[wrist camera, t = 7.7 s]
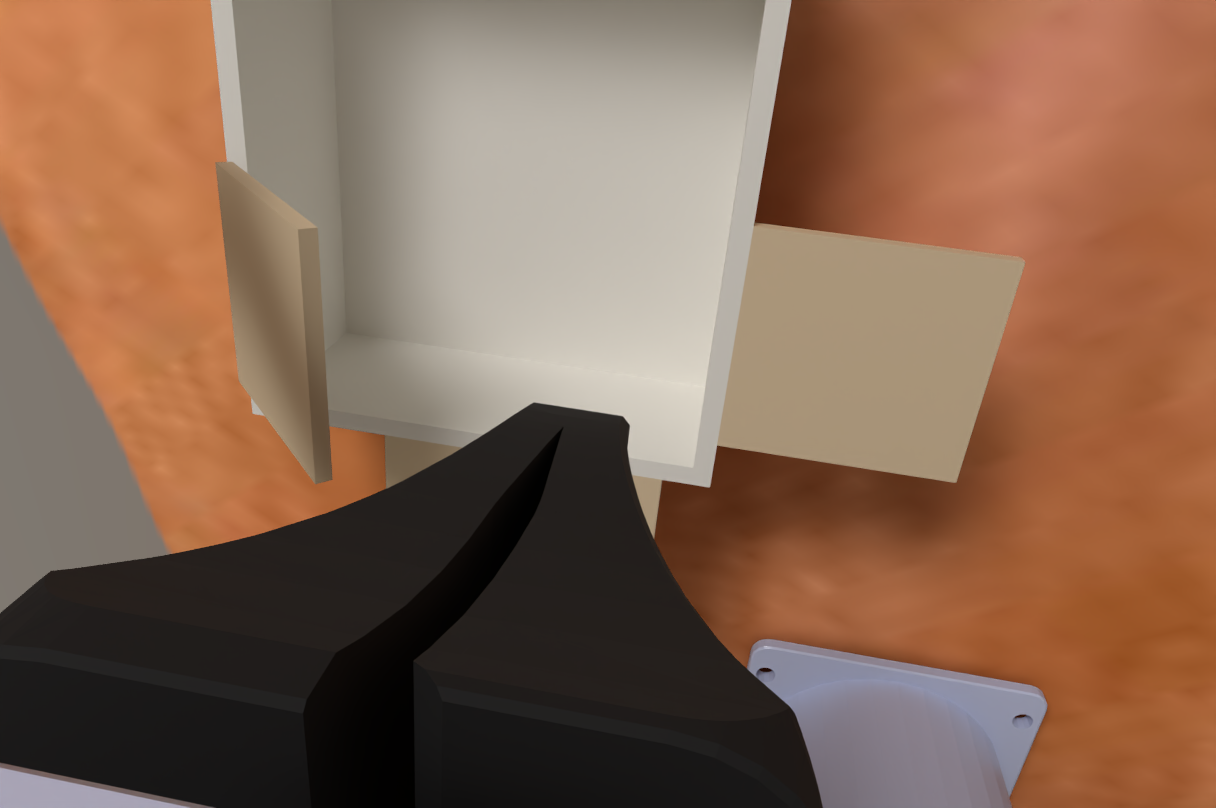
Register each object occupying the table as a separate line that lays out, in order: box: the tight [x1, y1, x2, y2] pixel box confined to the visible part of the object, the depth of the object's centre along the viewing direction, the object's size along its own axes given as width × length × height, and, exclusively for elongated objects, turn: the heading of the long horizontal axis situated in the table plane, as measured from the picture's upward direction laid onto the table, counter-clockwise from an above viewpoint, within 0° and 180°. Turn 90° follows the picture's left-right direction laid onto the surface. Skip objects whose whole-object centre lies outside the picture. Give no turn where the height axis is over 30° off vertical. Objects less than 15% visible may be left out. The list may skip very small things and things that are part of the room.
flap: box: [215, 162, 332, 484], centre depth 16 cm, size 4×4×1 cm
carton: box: [211, 0, 1025, 538], centre depth 19 cm, size 16×15×4 cm
